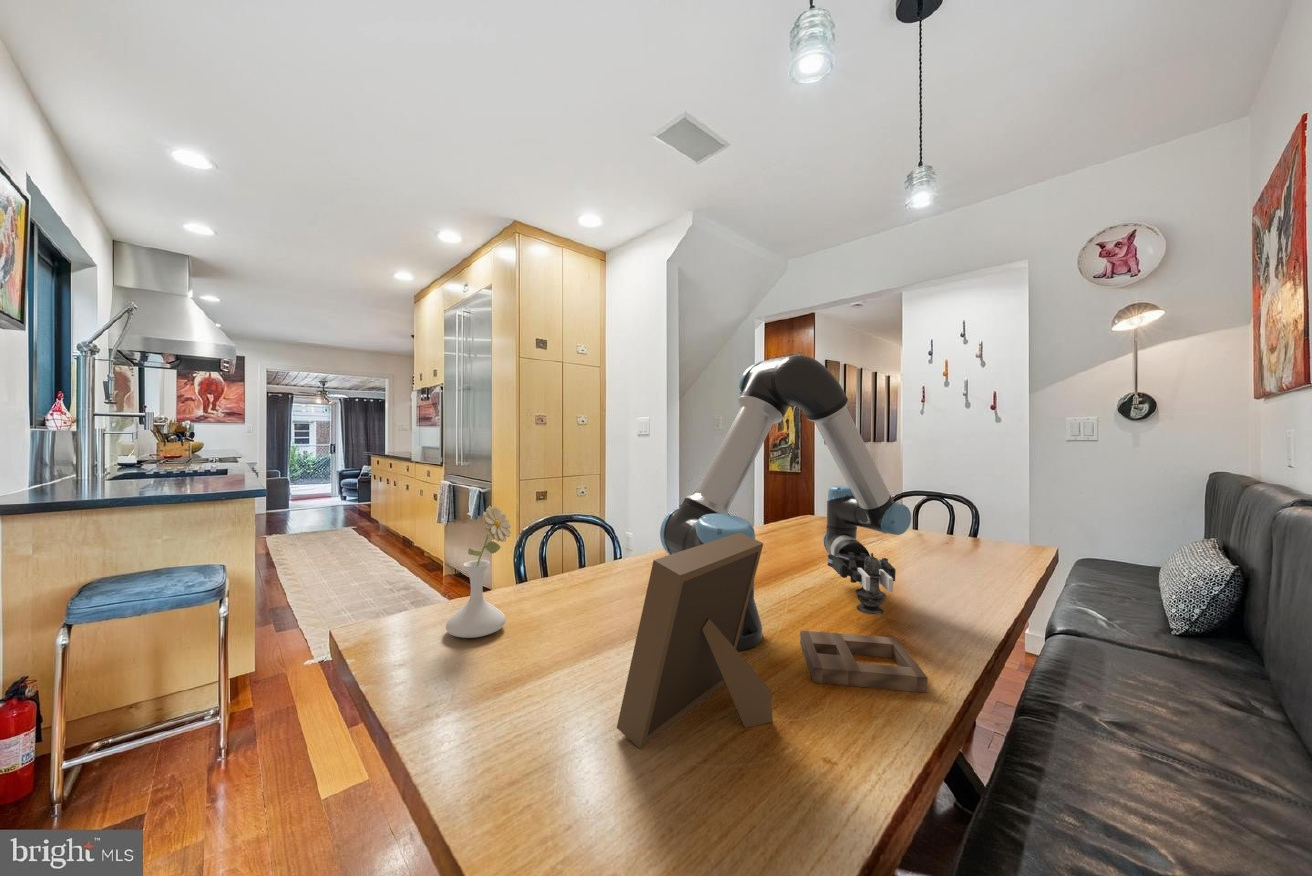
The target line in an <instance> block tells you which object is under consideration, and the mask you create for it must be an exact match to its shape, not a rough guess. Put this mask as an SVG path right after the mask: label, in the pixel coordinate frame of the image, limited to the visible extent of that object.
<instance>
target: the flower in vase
mask: <svg viewBox="0 0 1312 876" xmlns="http://www.w3.org/2000/svg"><path fill="white" fill-rule="evenodd" d="M481 517H482V520H483V521H482V524H483V526H484V531H485V532H486V533H487V534H486V537H485V541H484V543H483V547H482V549H481V551H478V550H474V549H472V548H468V551H467V554H468V555H470V556H475V557H476V556H477V557H478V559H477V560H475V559H474V560H469V561H466V562H464V563H463V567H464V568H465V569H466V571H467V573H468V577H469V582H470V594H469V595H470V596H469V599H468V601H467V602H466V604H464V605H463V606H462V607H461V608H459V609H458V610H457V611H455V612H454V614H452V616H451V617H450V618H449V619H448V620H447V621H446V624H445V630H446V632H448V633H449V635H452V636H453V637H457V638H463V639H465V638H466V639H468V638H469V639H472V638H474V639H475V638H481V637H485V636H488V635H491V634H493V633H495V632H498V631H499V630H501V628H503V627H504V625H505V624H506V621H507V618H506V616H505V614H504V613H503V611H501V610H500V609H499V608H497V607H496V606H494V605H493V604H491V603H489V602H488V601H487V600H486V599H485V597H484V594H483V591H484V590H483V583H484V577H485V572H486V570H487V569H488V567H489V565H490V564H491V562H490V561H489V560H486V559H481V558H482V556H483V553H484V551H485V549H486V550H487V551H488V552H489V553H490V554H496V553H497V552H498V551H500V550H501V548H502V547H501V545H500V544H499V542H501V543H504V542H506V541H507V538H510V537H511V534H512V531H511V530H510V529H511V528H512V524H510V521H509V519H508V518H507V515H506V513H504V512H502V510H501V509H500V508H498V507H497V506H495V505H494V506H493V508H492V506H491V505H488V507H487V508H486V509H485V511H483V513H482V516H481ZM489 537H490V538H491V540H489V541H488V538H489ZM496 541H497V542H496Z"/></svg>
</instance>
